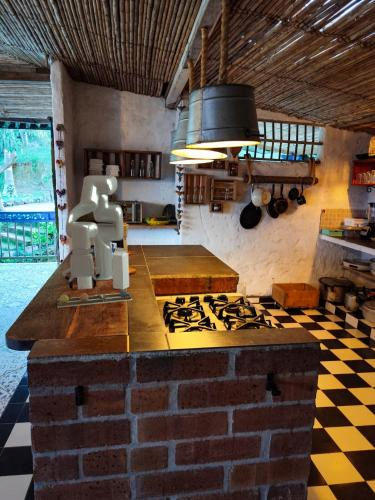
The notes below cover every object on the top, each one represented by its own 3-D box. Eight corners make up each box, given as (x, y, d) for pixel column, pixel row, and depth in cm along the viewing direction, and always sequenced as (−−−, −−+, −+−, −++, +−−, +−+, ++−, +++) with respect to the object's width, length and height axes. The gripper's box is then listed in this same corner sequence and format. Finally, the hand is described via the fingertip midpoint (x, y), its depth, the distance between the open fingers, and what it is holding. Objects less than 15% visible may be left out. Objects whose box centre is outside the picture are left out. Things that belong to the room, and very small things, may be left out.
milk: (119, 287, 187) (118, 246, 183) (129, 288, 185) (128, 247, 181) (113, 290, 182) (111, 248, 178) (123, 291, 180) (122, 249, 176)
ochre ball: (59, 302, 159) (59, 294, 159) (69, 301, 161) (68, 293, 160) (59, 305, 156) (59, 296, 155) (69, 304, 157) (68, 295, 156)
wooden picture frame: (57, 301, 160) (57, 299, 160) (101, 297, 166) (101, 295, 166) (57, 306, 154) (57, 303, 154) (103, 301, 161) (103, 299, 160)
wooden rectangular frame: (103, 297, 167) (103, 295, 166) (129, 295, 171) (129, 292, 170) (104, 301, 161) (104, 299, 161) (131, 299, 165) (131, 296, 164)
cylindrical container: (77, 291, 179) (74, 243, 174) (78, 287, 186) (75, 241, 181) (92, 290, 181) (89, 242, 176) (92, 286, 188) (89, 240, 183)
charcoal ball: (118, 296, 168) (118, 288, 167) (127, 296, 169) (127, 288, 168) (120, 299, 164) (119, 291, 163) (128, 298, 165) (128, 290, 165)
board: (57, 301, 164) (57, 298, 164) (128, 294, 175) (128, 291, 175) (57, 310, 153) (57, 306, 153) (132, 302, 164) (132, 298, 163)
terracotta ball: (79, 300, 162) (78, 292, 161) (88, 299, 163) (87, 291, 163) (79, 303, 158) (79, 294, 158) (88, 302, 160) (88, 294, 159)
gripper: (100, 249, 163) (101, 285, 165) (60, 251, 157) (63, 288, 160) (102, 252, 156) (103, 289, 158) (60, 254, 150) (62, 292, 153)
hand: (83, 288), depth 159 cm, fingers open, 9 cm apart
